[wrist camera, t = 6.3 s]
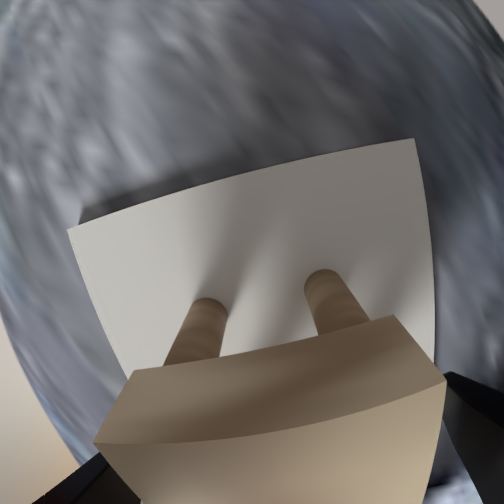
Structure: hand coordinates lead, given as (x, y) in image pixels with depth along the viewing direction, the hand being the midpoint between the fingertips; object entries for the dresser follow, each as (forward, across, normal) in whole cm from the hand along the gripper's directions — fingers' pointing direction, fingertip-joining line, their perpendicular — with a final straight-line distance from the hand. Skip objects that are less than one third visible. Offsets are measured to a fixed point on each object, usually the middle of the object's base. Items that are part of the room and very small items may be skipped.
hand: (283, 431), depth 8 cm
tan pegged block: (+4, 0, 0) cm, 4 cm away
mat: (+5, 0, 0) cm, 5 cm away
